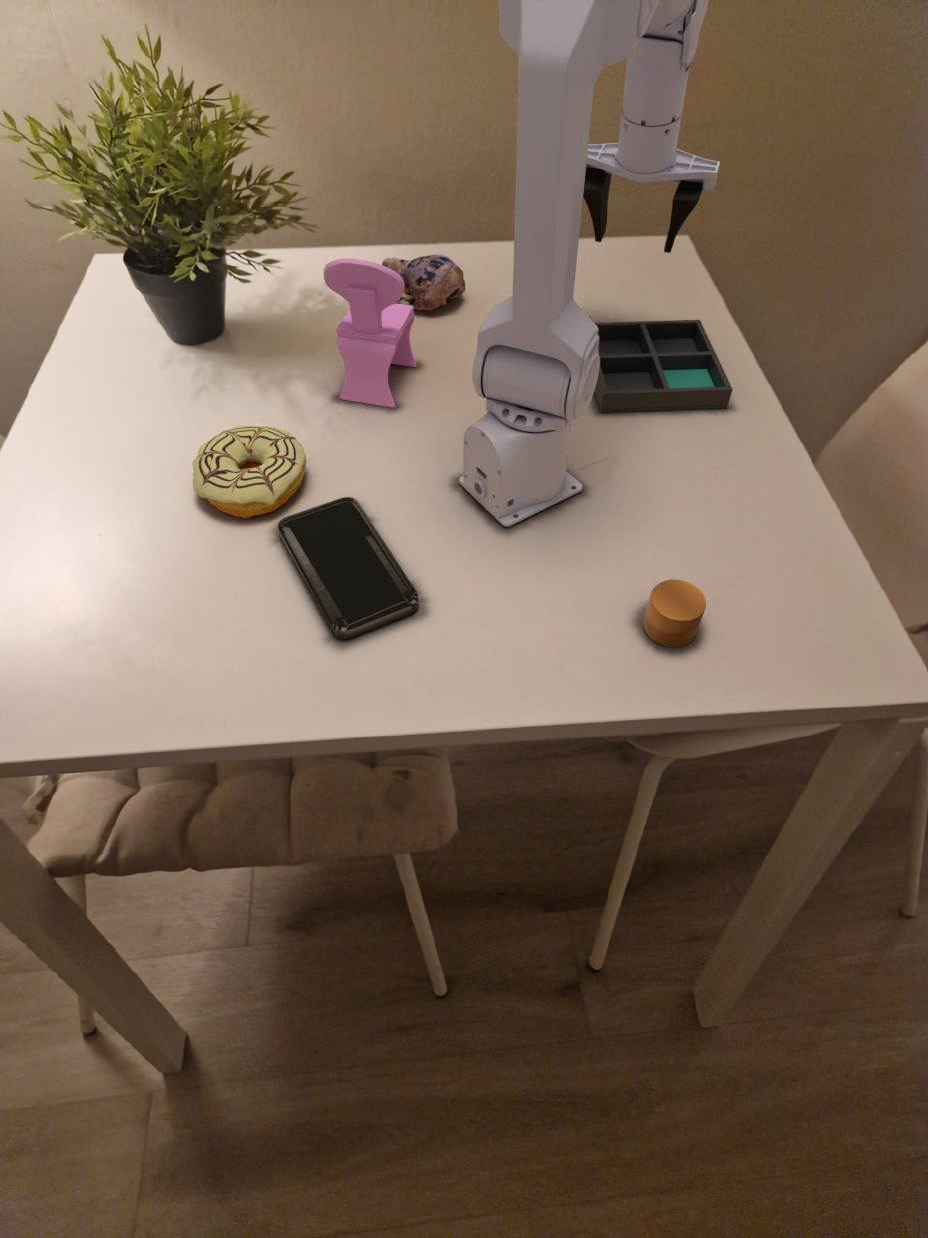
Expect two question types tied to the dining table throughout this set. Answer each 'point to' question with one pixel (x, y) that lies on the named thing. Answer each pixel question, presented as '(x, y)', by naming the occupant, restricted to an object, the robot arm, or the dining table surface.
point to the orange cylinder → (674, 613)
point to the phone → (347, 567)
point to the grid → (658, 367)
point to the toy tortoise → (428, 280)
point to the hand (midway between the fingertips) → (634, 241)
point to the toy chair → (370, 328)
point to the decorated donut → (249, 470)
